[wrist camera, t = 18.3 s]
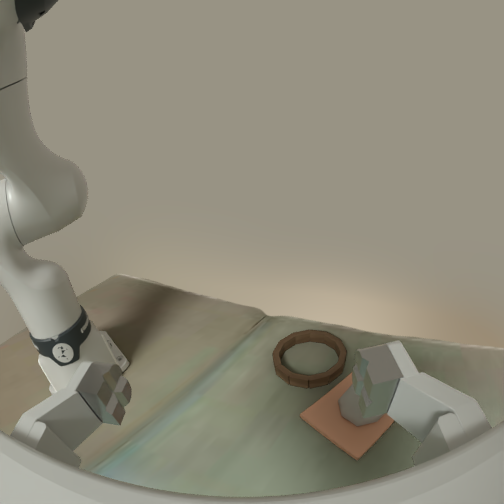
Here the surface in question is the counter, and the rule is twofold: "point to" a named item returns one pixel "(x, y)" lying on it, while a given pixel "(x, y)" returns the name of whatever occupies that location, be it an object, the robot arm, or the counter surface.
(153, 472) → the counter surface
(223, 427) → the counter surface
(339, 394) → the terracotta pad
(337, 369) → the ring holder
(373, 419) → the flask
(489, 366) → the counter surface
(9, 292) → the robot arm
